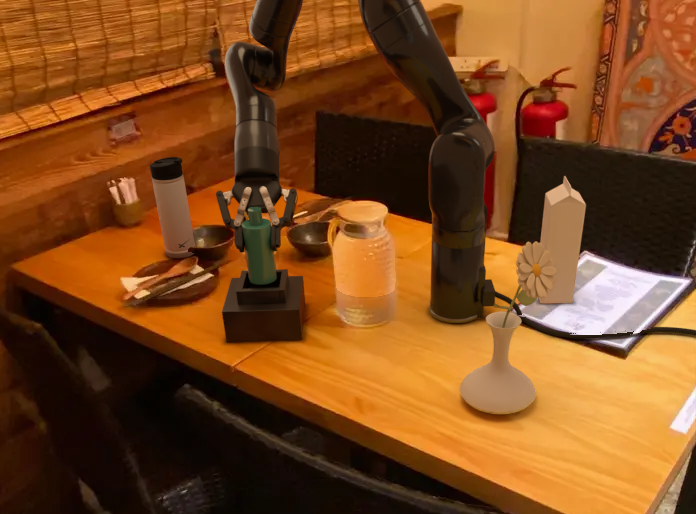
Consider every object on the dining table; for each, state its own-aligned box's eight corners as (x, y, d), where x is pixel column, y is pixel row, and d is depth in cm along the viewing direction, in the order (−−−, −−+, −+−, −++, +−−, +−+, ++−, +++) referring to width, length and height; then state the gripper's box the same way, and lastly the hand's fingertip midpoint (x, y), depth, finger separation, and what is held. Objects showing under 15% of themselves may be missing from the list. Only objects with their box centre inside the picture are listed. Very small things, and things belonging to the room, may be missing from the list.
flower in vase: (482, 429, 113) (494, 270, 98) (446, 389, 121) (452, 238, 107) (559, 407, 117) (580, 252, 102) (518, 370, 125) (533, 222, 111)
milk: (540, 304, 144) (552, 187, 131) (535, 289, 149) (546, 175, 136) (573, 303, 144) (588, 186, 131) (567, 288, 149) (581, 174, 136)
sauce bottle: (278, 272, 137) (270, 203, 130) (275, 284, 133) (267, 213, 126) (250, 273, 137) (241, 204, 130) (247, 285, 133) (237, 215, 126)
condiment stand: (305, 305, 145) (302, 262, 140) (301, 340, 135) (298, 296, 130) (235, 307, 145) (229, 265, 140) (226, 342, 134) (219, 298, 129)
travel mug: (190, 260, 163) (174, 164, 151) (161, 257, 164) (142, 163, 152) (202, 247, 168) (187, 154, 156) (173, 245, 169) (156, 153, 157)
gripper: (210, 145, 129) (210, 243, 126) (296, 142, 129) (298, 240, 126) (219, 167, 136) (219, 259, 133) (301, 164, 136) (303, 256, 134)
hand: (258, 249), depth 130 cm, fingers closed on sauce bottle, 5 cm apart
